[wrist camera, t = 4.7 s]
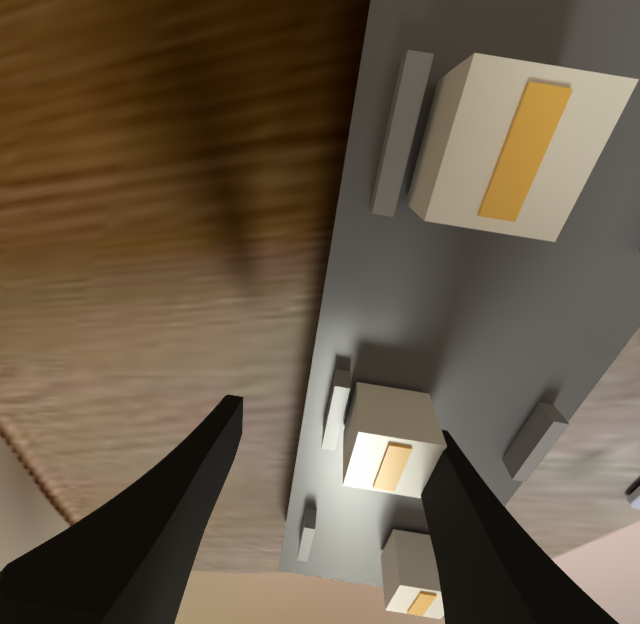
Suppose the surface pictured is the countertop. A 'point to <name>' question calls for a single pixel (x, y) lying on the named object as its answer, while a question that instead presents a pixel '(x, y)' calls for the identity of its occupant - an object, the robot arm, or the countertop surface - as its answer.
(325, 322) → the power strip
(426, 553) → the switch
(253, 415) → the countertop surface
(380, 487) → the switch mid
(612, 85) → the switch
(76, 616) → the robot arm
